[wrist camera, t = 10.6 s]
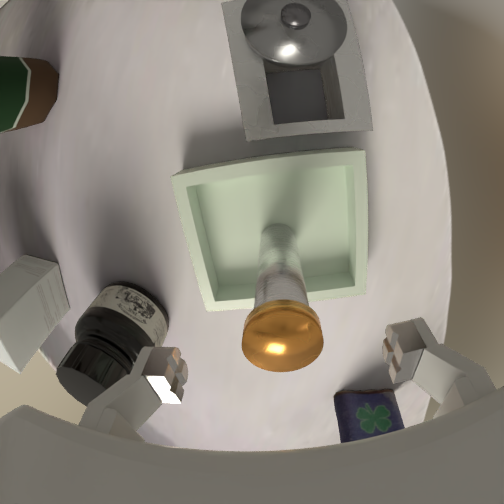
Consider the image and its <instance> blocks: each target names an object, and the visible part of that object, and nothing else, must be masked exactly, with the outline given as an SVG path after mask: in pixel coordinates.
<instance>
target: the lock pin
mask: <svg viewBox="0 0 504 504" xmlns="http://www.w3.org/2000/svg"><path fill="white" fill-rule="evenodd" d="M323 343H324V342H323V335H322V330H321V325H320V321H319V318H318V316H317V314H316V313H315V311H314V310H313V309H312V308H310V307H309V303H308V298H307V292H306V287H305V281H304V276H303V270H302V265H301V260H300V255H299V250H298V245H297V240H296V235H295V233H294V231H293V230H292V229H291V228H290V227H289V226H288V225H285V224H282V223H275V224H271V225H269V226H268V227H266V228H265V229H264V230H263V232H262V234H261V238H260V248H259V259H258V270H257V281H256V292H255V302H254V310H253V311H251V313H250V314H249V315H248V317H247V318H246V320H245V324H244V330H243V338H242V350H243V353H244V355H245V357H246V358H247V359H248V360H249V361H250V362H251V363H252V364H254V365H255V366H257V367H259V368H261V369H264V370H268V371H273V372H289V371H294V370H298V369H301V368H303V367H305V366H307V365H309V364H310V363H312V362H313V361H314V360H315V359H316V358H317V357H318V356H319V355H320V353H321V351H322V348H323Z"/></svg>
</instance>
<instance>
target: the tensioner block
mask: <svg viewBox="0 0 504 504" xmlns="http://www.w3.org/2000/svg"><path fill="white" fill-rule="evenodd" d="M221 5H222V10H223V15H224V20H225V26H226V31H227V36H228V42H229V47H230V53H231V58H232V64H233V69H234V75H235V80H236V86H237V92H238V97H239V103H240V109H241V114H242V120H243V126H244V132H245V138H246V142H248V141H254V140H261V139H269V138H276V137H285V136H294V135H304V134H315V133H329V132H346V131H373V126H372V117H371V109H370V102H369V95H368V89H367V83H366V77H365V72H364V67H363V62H362V57H361V52H360V48H359V43H358V39H357V35H356V31H355V27H354V23H353V20H352V16H351V13H350V9H349V6H348V3H347V0H234V1H229V2H223V3H221ZM307 69H320V72H321V78H322V84H323V89H324V95H325V102H326V108H327V115H328V120H318V121H306V122H295V123H286V124H277V125H274V123H273V117H272V110H271V104H270V99H269V93H268V87H267V82H266V76H265V73H273V72H283V71H293V70H307Z"/></svg>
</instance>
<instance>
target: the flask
mask: <svg viewBox="0 0 504 504" xmlns="http://www.w3.org/2000/svg"><path fill="white" fill-rule="evenodd" d="M333 397H334V406H335V412H336V416H337V420H338V426H339V433H340V440H341V443H346V442H351V441H357V440H361V439H366V438H370V437H375V436H379V435H383V434H387V433H390V432H394V431H397V430H401V429H404V428H405V427H404V424H403V421H402V418H401V414H400V411H399V408H398V404H397V401H396V397H395V394H394V392H393V390H390V389H383V390H367V391H364V392H362V391H361V390H360V391H353V390H352V391H346V390H343V391H340V392H338V393H336V394H335V395H334V396H333Z"/></svg>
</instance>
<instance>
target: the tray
mask: <svg viewBox="0 0 504 504" xmlns="http://www.w3.org/2000/svg"><path fill="white" fill-rule="evenodd" d="M171 182H172V186H173V190H174V195H175V199H176V203H177V207H178V211H179V215H180V219H181V223H182V227H183V231H184V235H185V238H186V242H187V246H188V250H189V253H190V257H191V260H192V264H193V268H194V271H195V274H196V278H197V281H198V285H199V288H200V291H201V295H202V298H203V301H204V305H205V308H206V311H221V310H234V309H246V308H254V302H255V292H256V281H257V270H258V259H259V248H260V238H261V234H262V232H263V230H264V229H265V228H266V227H268V226H269V225H271V224H275V223H282V224H285V225H288V226H289V227H290V228H291V229H292V230H293V231H294V233H295V235H296V240H297V245H298V250H299V255H300V260H301V265H302V270H303V276H304V281H305V287H306V292H307V298H308V302H313V301H321V300H329V299H336V298H343V297H350V296H357V295H364V294H366V279H367V258H368V192H367V171H366V157H365V150H361V149H358V148H354V147H347V148H332V149H320V150H309V151H299V152H289V153H281V154H273V155H265V156H258V157H251V158H245V159H238V160H232V161H226V162H221V163H215V164H210V165H205V166H199V167H194V168H190V169H185V170H182V171H180V172H178V173H176V174H174V175H172V176H171Z"/></svg>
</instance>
